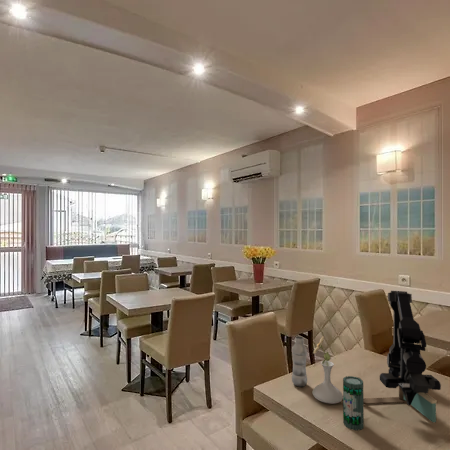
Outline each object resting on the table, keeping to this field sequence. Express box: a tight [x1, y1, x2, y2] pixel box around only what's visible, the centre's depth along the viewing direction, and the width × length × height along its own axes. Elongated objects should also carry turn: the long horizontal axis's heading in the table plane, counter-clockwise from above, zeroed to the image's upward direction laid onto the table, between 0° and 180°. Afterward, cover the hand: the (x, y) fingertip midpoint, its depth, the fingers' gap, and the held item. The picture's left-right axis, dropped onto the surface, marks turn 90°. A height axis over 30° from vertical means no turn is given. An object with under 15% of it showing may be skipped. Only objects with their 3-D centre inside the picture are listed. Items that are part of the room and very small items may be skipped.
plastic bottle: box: [291, 335, 308, 388], centre depth 135 cm, size 6×7×20 cm
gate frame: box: [356, 376, 407, 406], centre depth 122 cm, size 19×3×9 cm, turn 94°
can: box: [342, 375, 365, 431], centre depth 108 cm, size 6×6×15 cm
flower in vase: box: [311, 335, 343, 404], centre depth 123 cm, size 13×11×25 cm
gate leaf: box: [404, 392, 438, 423], centre depth 114 cm, size 15×2×7 cm, turn 6°
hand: (408, 404), depth 113 cm, fingers closed
